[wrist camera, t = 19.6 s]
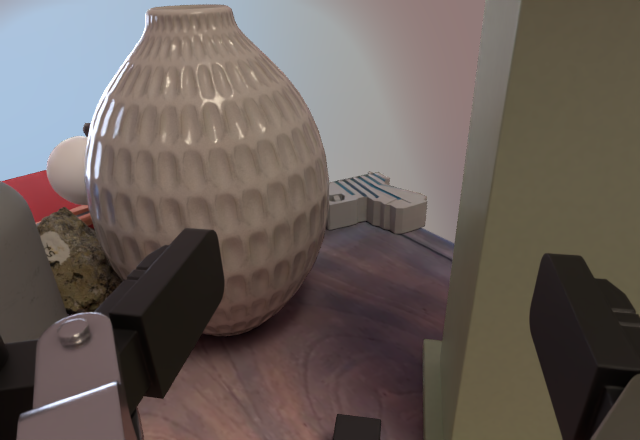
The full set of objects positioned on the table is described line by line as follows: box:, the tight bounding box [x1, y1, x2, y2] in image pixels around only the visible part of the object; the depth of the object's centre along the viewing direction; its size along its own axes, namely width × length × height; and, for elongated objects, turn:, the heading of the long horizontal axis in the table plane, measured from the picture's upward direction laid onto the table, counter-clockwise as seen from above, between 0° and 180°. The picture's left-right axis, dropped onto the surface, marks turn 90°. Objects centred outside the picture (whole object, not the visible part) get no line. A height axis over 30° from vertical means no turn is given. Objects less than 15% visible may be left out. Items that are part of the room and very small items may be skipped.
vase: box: [84, 5, 329, 336], centre depth 33 cm, size 16×16×22 cm
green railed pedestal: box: [423, 0, 640, 440], centre depth 19 cm, size 14×14×33 cm
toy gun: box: [326, 172, 427, 234], centre depth 50 cm, size 3×14×10 cm
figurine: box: [46, 136, 88, 205], centre depth 41 cm, size 8×6×12 cm
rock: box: [37, 207, 123, 315], centre depth 35 cm, size 6×9×10 cm
